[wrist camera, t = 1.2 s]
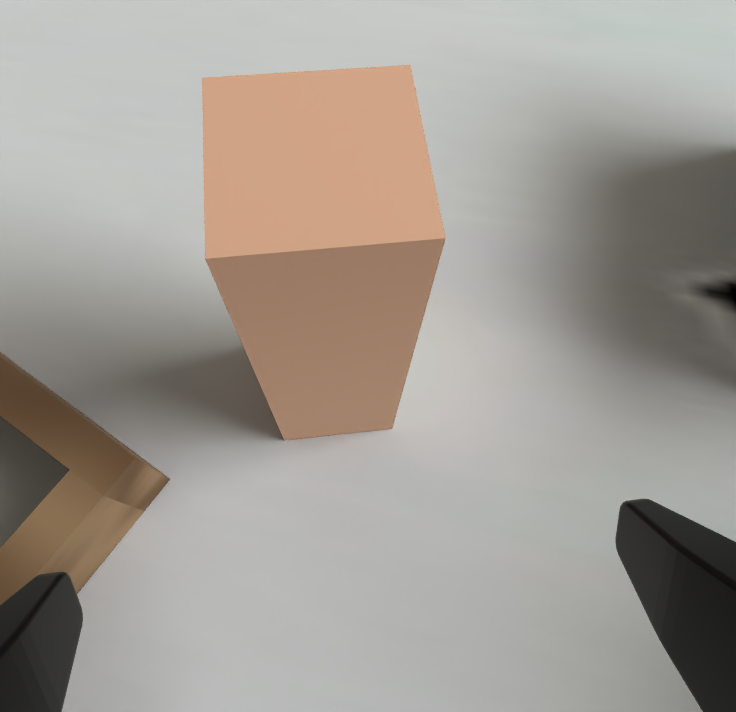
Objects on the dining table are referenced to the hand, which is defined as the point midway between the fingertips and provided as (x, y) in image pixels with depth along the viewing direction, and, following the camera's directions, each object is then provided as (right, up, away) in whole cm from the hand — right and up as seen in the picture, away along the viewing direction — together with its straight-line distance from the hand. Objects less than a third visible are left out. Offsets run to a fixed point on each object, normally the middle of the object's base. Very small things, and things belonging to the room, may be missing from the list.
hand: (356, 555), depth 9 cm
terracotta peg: (-1, +2, +15) cm, 15 cm away
